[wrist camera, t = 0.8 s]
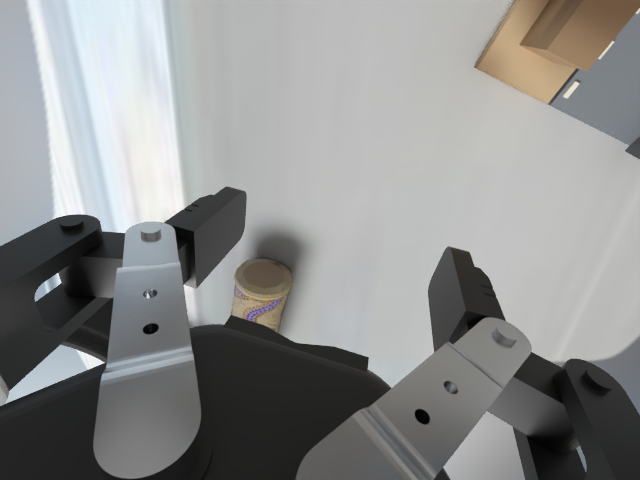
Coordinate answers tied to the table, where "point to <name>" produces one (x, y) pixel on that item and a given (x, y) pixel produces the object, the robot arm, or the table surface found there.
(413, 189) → the table surface
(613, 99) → the board
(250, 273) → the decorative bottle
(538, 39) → the stub
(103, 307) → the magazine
